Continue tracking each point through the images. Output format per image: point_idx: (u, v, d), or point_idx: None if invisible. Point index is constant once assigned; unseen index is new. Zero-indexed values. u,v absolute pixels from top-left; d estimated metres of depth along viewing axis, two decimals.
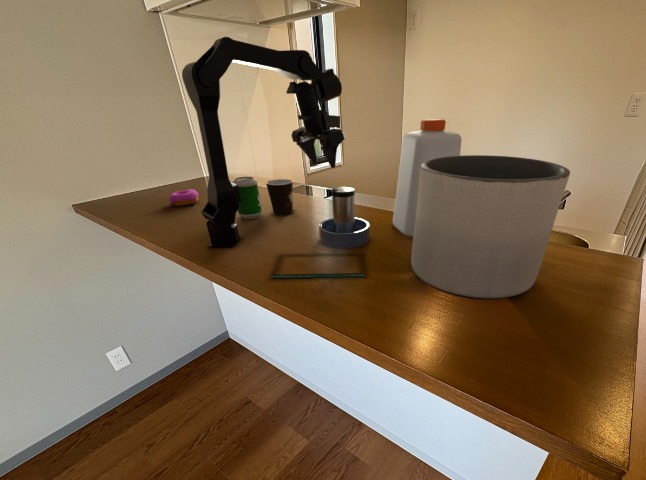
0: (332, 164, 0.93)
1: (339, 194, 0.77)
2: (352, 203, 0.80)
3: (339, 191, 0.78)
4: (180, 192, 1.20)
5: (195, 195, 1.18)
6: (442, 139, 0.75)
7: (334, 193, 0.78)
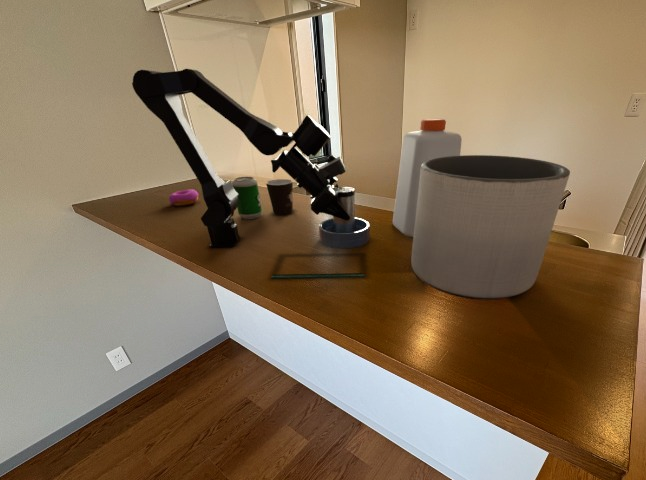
0: (344, 217, 0.80)
1: (339, 194, 0.77)
2: (352, 203, 0.80)
3: (339, 191, 0.78)
4: (180, 192, 1.20)
5: (195, 195, 1.18)
6: (442, 139, 0.75)
7: None
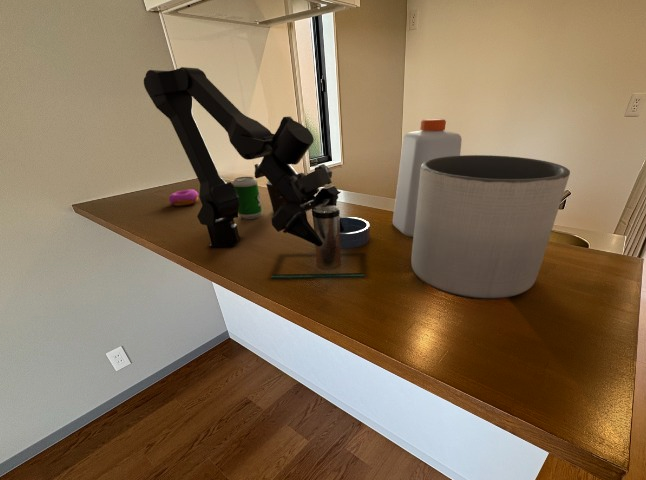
0: (314, 242, 0.65)
1: (315, 214, 0.65)
2: (331, 227, 0.66)
3: (317, 210, 0.65)
4: (180, 192, 1.20)
5: (195, 195, 1.18)
6: (442, 139, 0.75)
7: (312, 212, 0.66)
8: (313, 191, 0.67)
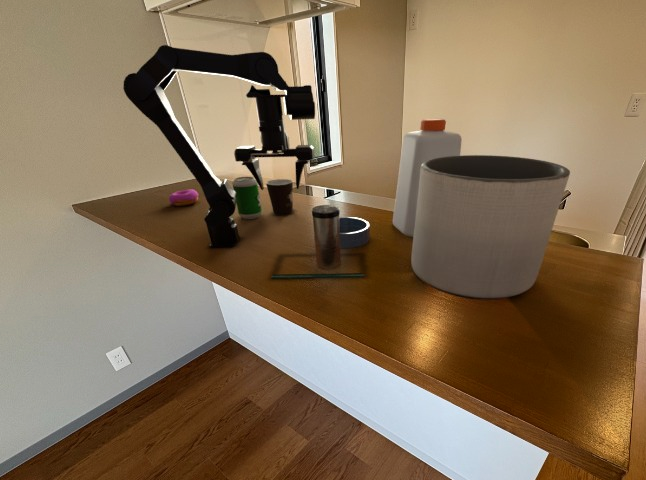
0: (299, 184, 0.82)
1: (315, 214, 0.65)
2: (331, 227, 0.66)
3: (317, 210, 0.65)
4: (180, 192, 1.20)
5: (195, 195, 1.18)
6: (442, 139, 0.75)
7: (312, 212, 0.66)
8: None
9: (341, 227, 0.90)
